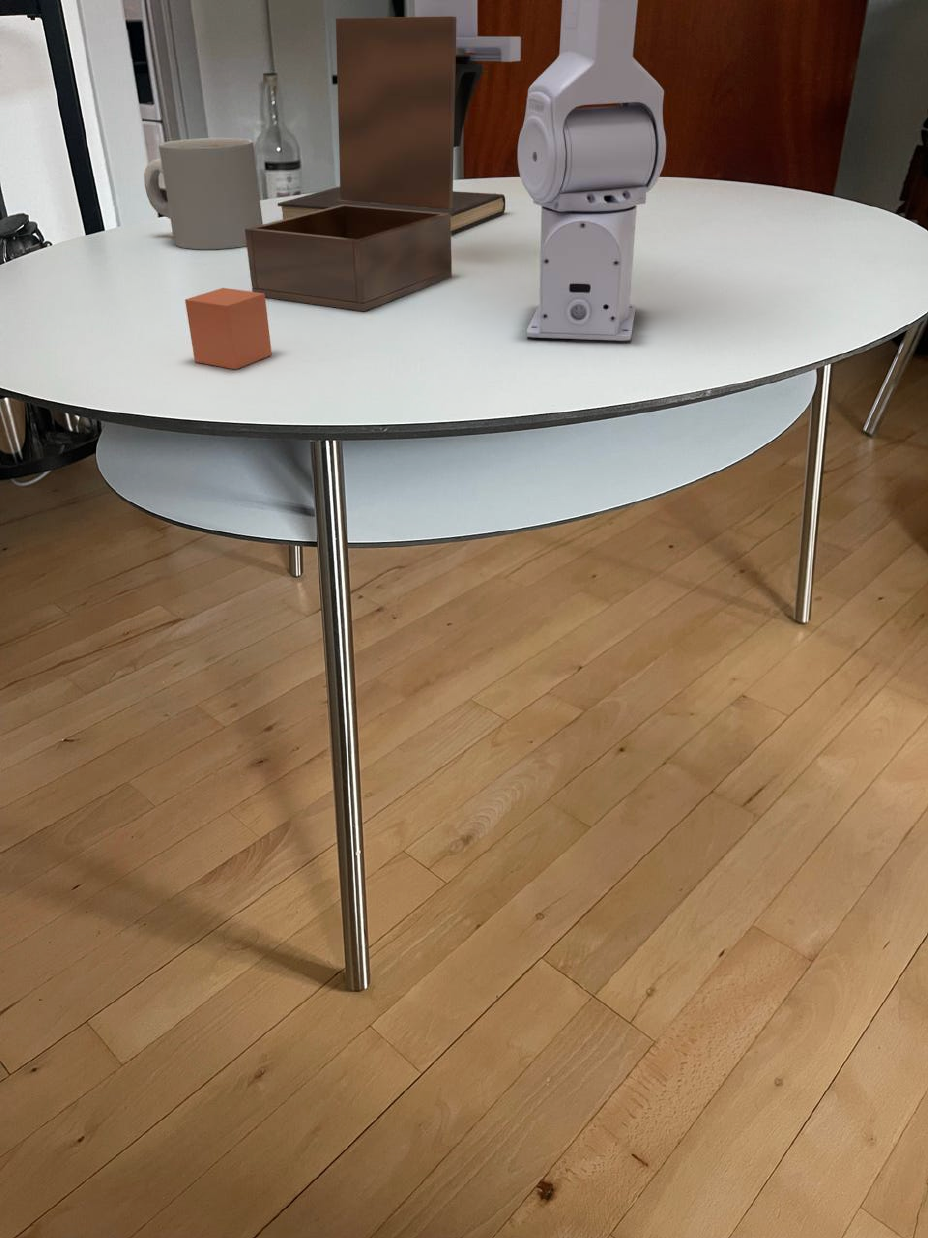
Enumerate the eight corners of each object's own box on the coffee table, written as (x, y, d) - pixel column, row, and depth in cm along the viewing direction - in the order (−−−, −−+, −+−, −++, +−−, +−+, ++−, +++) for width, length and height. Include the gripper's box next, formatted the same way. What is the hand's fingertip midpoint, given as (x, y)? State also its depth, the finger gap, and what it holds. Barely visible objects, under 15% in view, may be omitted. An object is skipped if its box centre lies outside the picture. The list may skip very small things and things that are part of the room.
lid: (452, 15, 84) (456, 16, 85) (335, 17, 89) (340, 18, 90) (448, 208, 91) (452, 208, 91) (340, 199, 96) (344, 199, 97)
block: (272, 355, 74) (265, 293, 71) (235, 369, 71) (227, 305, 68) (231, 347, 75) (223, 287, 73) (194, 361, 72) (184, 299, 70)
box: (364, 311, 84) (359, 240, 81) (252, 295, 89) (244, 228, 86) (452, 276, 94) (450, 213, 91) (347, 264, 100) (342, 203, 97)
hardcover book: (448, 236, 112) (448, 214, 110) (279, 223, 120) (277, 202, 119) (505, 213, 124) (505, 193, 123) (348, 202, 132) (347, 184, 131)
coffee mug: (282, 236, 113) (272, 139, 108) (221, 252, 106) (206, 149, 101) (197, 226, 119) (183, 134, 114) (134, 241, 112) (116, 143, 107)
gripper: (537, -22, 89) (534, 145, 96) (403, -17, 95) (409, 139, 102) (499, -23, 84) (499, 153, 91) (360, -18, 90) (369, 146, 97)
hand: (449, 146), depth 96 cm, fingers closed
